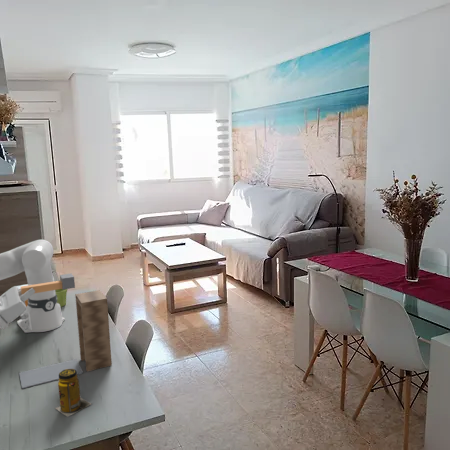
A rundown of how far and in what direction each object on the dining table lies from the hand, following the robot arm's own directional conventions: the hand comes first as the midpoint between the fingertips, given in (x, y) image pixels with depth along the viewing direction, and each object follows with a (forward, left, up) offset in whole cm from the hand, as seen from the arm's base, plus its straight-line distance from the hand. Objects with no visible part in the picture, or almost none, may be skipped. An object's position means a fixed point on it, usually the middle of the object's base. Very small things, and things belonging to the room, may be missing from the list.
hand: (33, 287), depth 152 cm
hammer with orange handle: (+2, +4, -2) cm, 5 cm away
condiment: (+26, -3, -33) cm, 42 cm away
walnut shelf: (+6, +18, -33) cm, 38 cm away
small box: (-67, +27, -33) cm, 79 cm away
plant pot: (-62, +41, -33) cm, 81 cm away
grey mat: (+1, +3, -33) cm, 33 cm away
